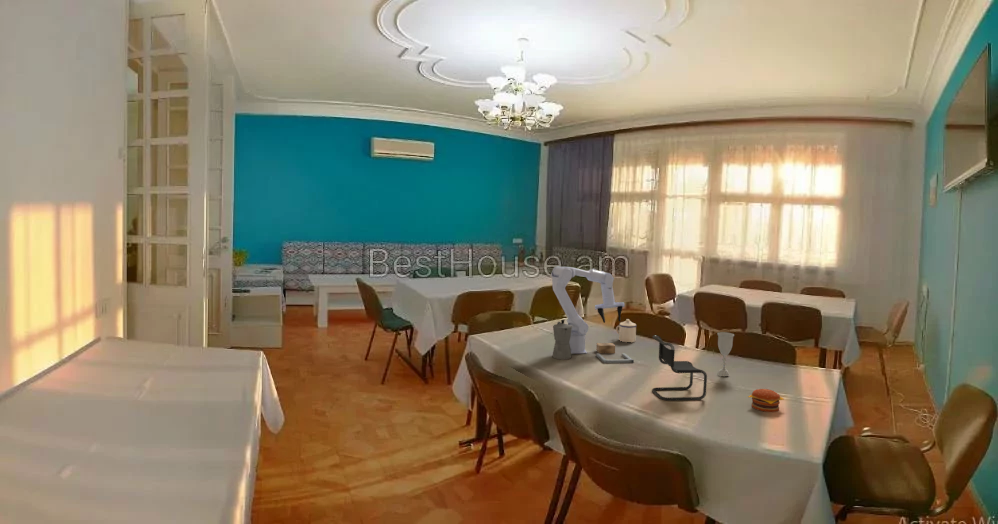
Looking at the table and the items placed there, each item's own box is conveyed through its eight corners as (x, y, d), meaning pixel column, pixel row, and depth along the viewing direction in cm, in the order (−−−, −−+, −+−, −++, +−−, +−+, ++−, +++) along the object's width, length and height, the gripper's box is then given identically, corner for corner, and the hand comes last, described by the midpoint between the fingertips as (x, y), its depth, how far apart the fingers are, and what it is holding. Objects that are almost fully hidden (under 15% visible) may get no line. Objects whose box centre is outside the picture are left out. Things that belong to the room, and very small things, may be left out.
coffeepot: (575, 360, 265) (576, 322, 264) (555, 361, 264) (556, 322, 262) (566, 352, 281) (567, 316, 279) (548, 352, 279) (548, 316, 278)
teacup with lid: (639, 341, 305) (640, 319, 304) (628, 343, 300) (629, 321, 298) (621, 337, 315) (622, 316, 313) (610, 339, 309) (611, 318, 308)
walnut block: (599, 353, 279) (599, 345, 279) (596, 351, 284) (596, 343, 284) (615, 353, 280) (615, 345, 280) (612, 350, 285) (612, 343, 285)
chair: (648, 389, 225) (651, 334, 222) (691, 389, 226) (694, 334, 224) (661, 401, 212) (664, 343, 210) (706, 400, 213) (709, 342, 211)
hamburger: (759, 401, 213) (760, 384, 212) (784, 409, 205) (786, 391, 205) (745, 406, 207) (746, 388, 207) (770, 414, 200) (772, 396, 199)
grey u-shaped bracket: (604, 363, 262) (604, 360, 262) (596, 356, 274) (596, 353, 274) (633, 362, 263) (633, 360, 263) (624, 355, 276) (624, 353, 276)
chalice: (733, 378, 241) (735, 336, 239) (716, 377, 243) (718, 335, 241) (730, 373, 248) (732, 332, 247) (713, 372, 250) (715, 331, 248)
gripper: (623, 291, 287) (626, 317, 290) (594, 295, 292) (598, 320, 294) (622, 295, 281) (626, 322, 283) (593, 298, 285) (597, 324, 288)
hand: (612, 321), depth 288 cm, fingers open, 7 cm apart
